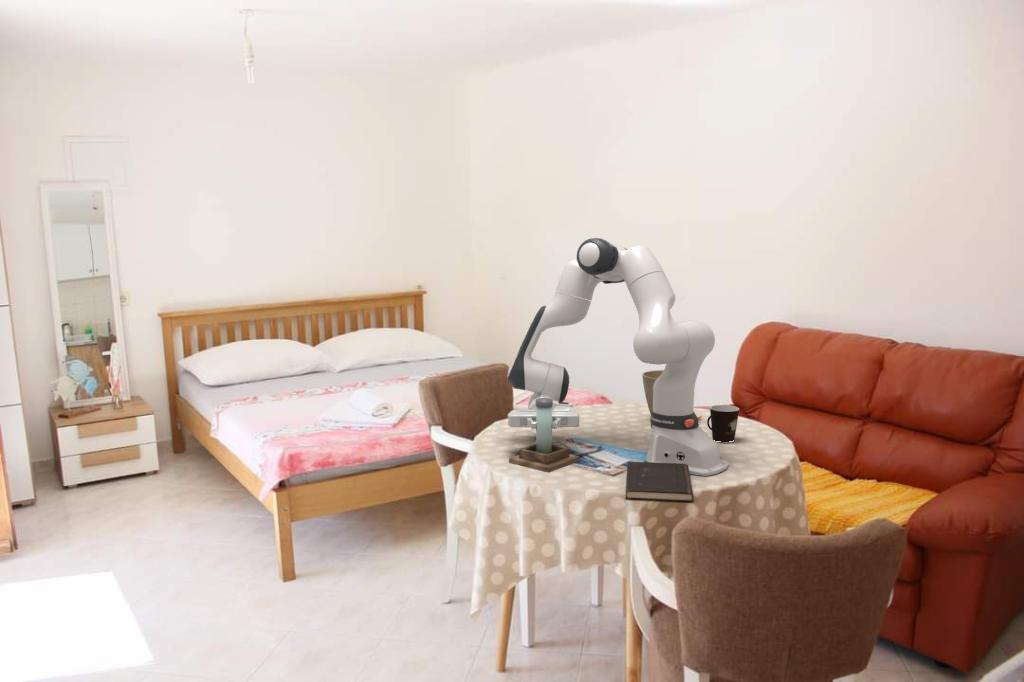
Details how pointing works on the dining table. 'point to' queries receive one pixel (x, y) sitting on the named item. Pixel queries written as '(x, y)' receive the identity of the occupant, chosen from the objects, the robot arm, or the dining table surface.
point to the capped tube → (544, 425)
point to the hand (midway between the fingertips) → (544, 425)
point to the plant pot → (650, 385)
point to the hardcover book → (658, 482)
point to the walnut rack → (544, 458)
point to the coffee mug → (723, 422)
